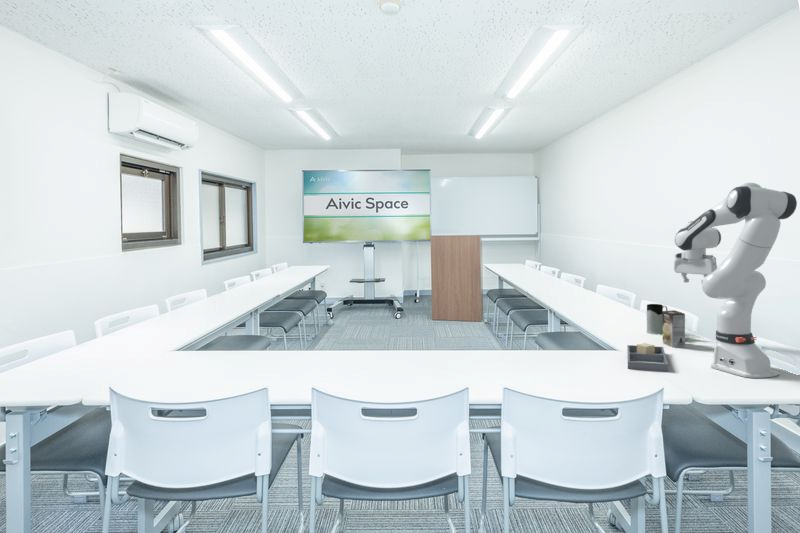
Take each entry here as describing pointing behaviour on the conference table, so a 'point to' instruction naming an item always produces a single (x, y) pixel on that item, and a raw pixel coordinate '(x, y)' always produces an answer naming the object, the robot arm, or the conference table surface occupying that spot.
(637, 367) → the divided bin
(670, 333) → the coffee box
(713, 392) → the conference table surface
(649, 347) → the sandstone block
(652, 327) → the grey mug
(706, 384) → the conference table surface
